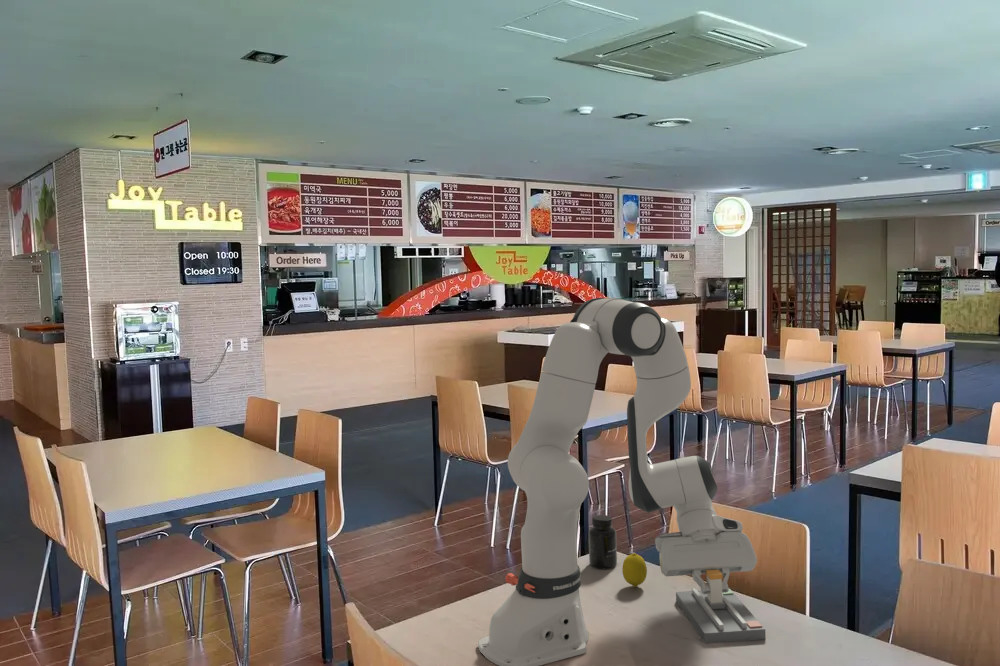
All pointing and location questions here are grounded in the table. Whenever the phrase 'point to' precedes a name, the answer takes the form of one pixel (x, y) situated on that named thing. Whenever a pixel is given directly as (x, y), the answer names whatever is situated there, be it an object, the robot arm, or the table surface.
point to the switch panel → (720, 618)
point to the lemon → (634, 569)
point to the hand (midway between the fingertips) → (715, 592)
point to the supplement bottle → (602, 543)
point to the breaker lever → (715, 589)
